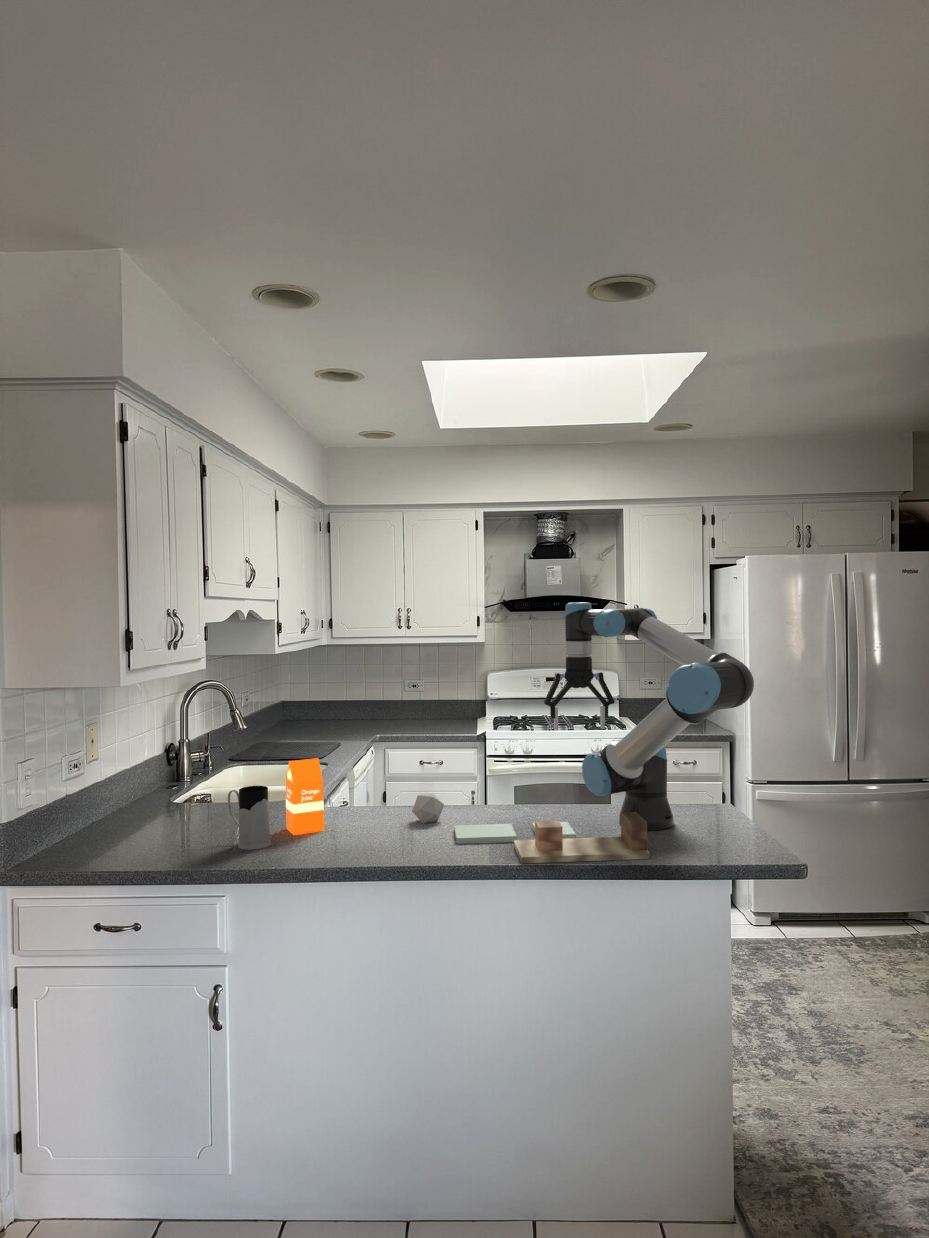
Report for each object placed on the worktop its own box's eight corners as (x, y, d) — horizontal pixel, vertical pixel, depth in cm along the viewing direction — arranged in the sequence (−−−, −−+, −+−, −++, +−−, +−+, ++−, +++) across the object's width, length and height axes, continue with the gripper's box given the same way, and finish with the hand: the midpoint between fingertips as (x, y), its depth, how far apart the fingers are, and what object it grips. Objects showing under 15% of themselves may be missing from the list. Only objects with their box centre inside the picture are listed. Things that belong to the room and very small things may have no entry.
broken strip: (567, 826, 231) (567, 821, 231) (576, 839, 219) (575, 833, 219) (454, 830, 229) (454, 825, 229) (456, 843, 217) (456, 838, 217)
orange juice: (286, 828, 233) (284, 758, 233) (316, 824, 237) (314, 755, 237) (293, 835, 226) (292, 763, 226) (324, 830, 230) (323, 760, 230)
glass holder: (253, 851, 212) (252, 794, 212) (216, 843, 220) (215, 787, 220) (278, 842, 220) (277, 787, 219) (241, 835, 227) (240, 781, 227)
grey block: (434, 817, 245) (415, 792, 245) (453, 807, 240) (433, 782, 240) (422, 834, 238) (401, 808, 238) (441, 823, 234) (420, 797, 233)
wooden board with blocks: (634, 841, 216) (633, 809, 216) (649, 858, 202) (649, 824, 202) (513, 845, 214) (513, 813, 213) (521, 863, 200) (520, 828, 200)
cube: (558, 843, 210) (558, 820, 210) (562, 850, 204) (562, 826, 204) (535, 844, 210) (534, 821, 210) (538, 851, 204) (538, 827, 204)
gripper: (617, 654, 240) (618, 725, 241) (533, 655, 239) (534, 727, 239) (624, 655, 233) (625, 729, 234) (538, 657, 231) (538, 732, 232)
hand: (579, 729), depth 236 cm, fingers open, 13 cm apart
